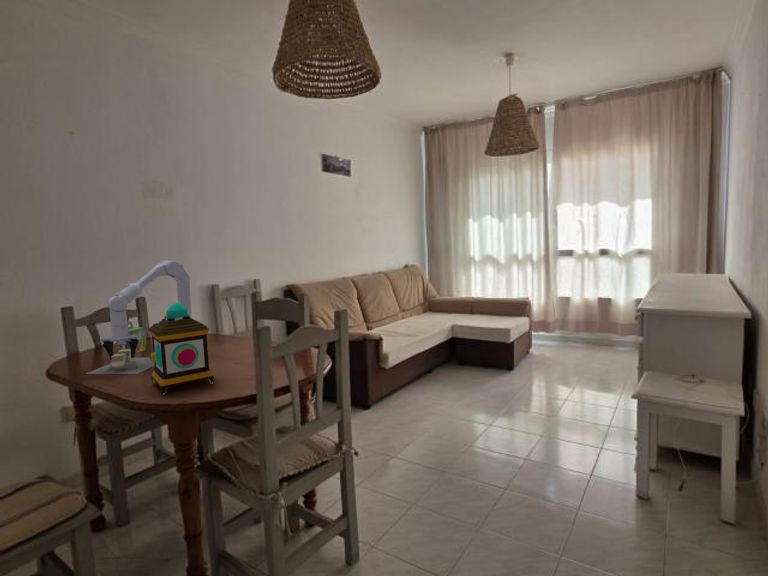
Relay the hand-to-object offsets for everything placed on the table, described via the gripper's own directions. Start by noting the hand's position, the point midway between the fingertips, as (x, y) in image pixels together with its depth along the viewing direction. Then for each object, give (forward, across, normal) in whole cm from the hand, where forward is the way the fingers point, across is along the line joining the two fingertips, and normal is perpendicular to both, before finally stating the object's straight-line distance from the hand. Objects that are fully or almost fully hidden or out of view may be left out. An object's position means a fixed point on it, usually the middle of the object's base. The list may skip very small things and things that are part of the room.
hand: (122, 358), depth 185 cm
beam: (+2, 0, 0) cm, 2 cm away
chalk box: (+5, +5, -31) cm, 32 cm away
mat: (+5, -2, -4) cm, 7 cm away
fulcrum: (+4, 0, 0) cm, 4 cm away
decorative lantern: (+5, -28, +29) cm, 41 cm away
